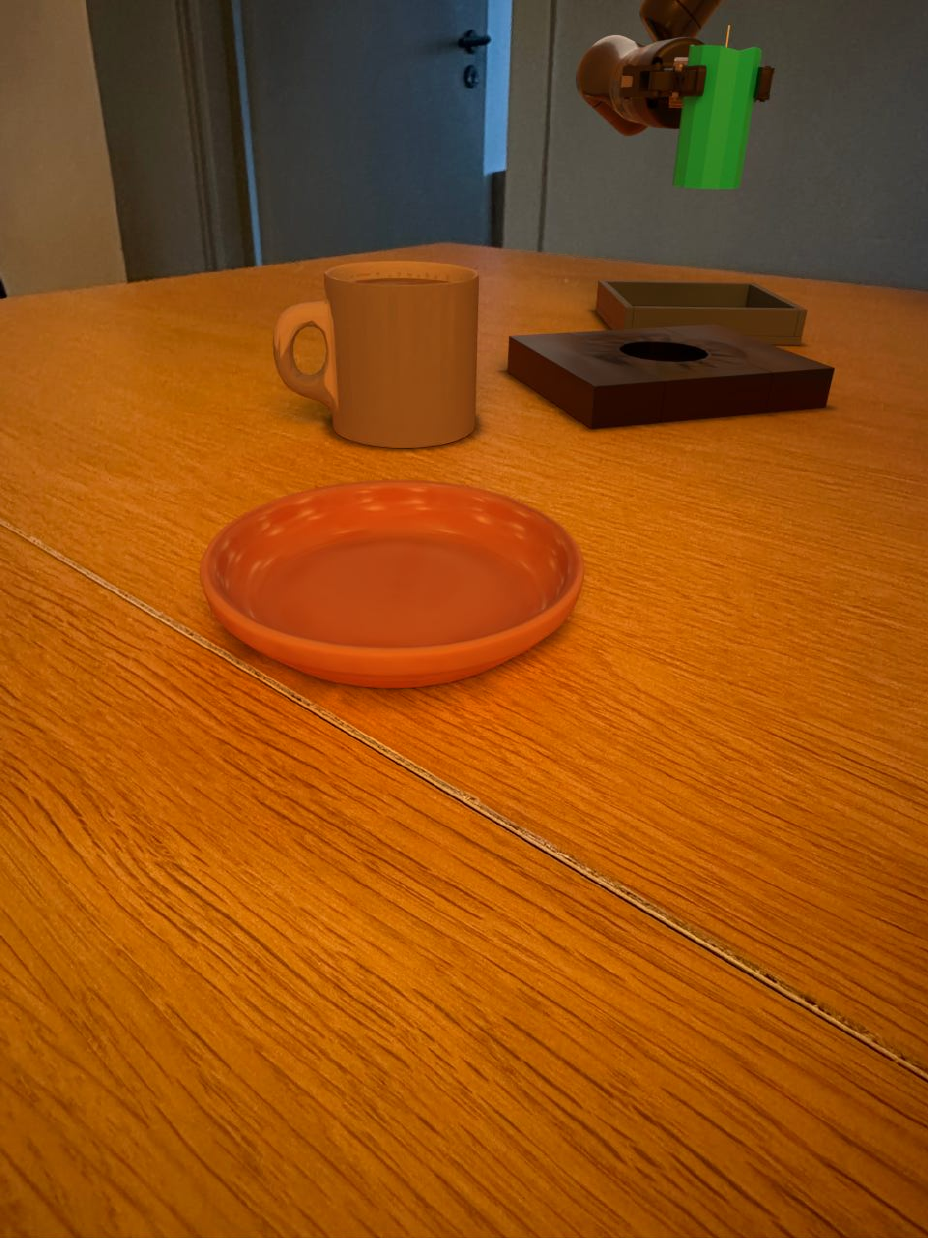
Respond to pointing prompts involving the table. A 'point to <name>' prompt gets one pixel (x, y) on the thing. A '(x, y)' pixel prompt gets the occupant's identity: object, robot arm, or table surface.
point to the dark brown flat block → (665, 374)
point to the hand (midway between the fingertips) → (733, 81)
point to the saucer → (392, 581)
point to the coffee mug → (391, 351)
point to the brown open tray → (701, 308)
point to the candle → (717, 118)
